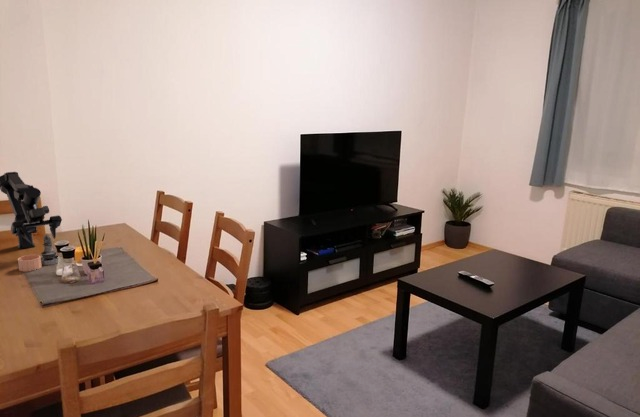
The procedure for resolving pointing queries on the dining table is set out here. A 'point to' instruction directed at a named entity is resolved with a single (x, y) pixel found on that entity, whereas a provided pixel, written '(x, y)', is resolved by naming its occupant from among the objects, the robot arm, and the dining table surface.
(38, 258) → the pink ribbed bowl
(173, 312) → the dining table surface
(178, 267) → the dining table surface
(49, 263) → the charcoal tray
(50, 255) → the grey chess piece
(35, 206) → the robot arm
